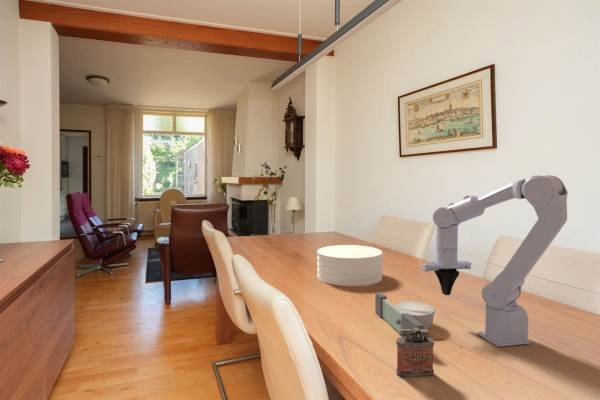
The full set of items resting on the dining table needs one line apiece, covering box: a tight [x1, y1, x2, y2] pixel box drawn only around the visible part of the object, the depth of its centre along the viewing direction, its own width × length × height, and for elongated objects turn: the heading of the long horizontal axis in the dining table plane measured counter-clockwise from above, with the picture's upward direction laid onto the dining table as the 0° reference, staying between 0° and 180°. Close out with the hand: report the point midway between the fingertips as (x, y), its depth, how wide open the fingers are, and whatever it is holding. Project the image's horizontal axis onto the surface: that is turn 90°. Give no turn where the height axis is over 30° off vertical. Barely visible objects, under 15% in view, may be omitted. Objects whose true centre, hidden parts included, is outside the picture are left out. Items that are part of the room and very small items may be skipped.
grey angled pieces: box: [374, 292, 424, 338], centre depth 100 cm, size 2×26×6 cm, turn 10°
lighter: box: [395, 327, 435, 379], centre depth 77 cm, size 8×3×10 cm, turn 92°
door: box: [382, 299, 403, 334], centre depth 102 cm, size 2×13×6 cm, turn 10°
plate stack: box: [316, 244, 383, 287], centre depth 155 cm, size 28×28×12 cm
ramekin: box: [394, 300, 436, 331], centre depth 103 cm, size 11×11×5 cm
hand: (446, 294), depth 104 cm, fingers closed
